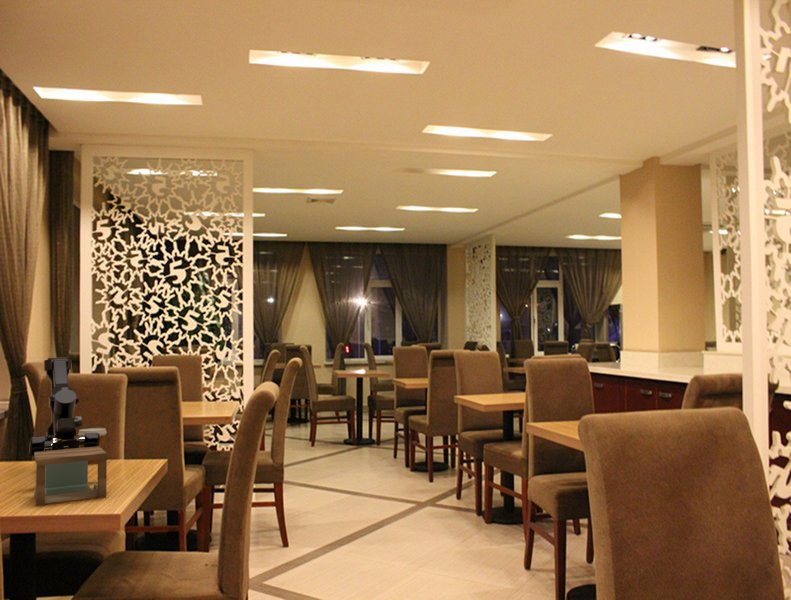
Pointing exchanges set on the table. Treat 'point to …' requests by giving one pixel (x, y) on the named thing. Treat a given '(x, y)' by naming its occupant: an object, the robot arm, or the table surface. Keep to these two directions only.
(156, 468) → the table surface
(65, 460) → the walnut overhang shelf
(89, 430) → the disposable coffee cup
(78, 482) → the teal plastic shell
